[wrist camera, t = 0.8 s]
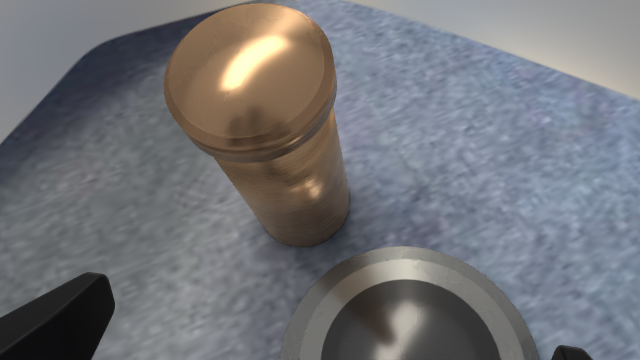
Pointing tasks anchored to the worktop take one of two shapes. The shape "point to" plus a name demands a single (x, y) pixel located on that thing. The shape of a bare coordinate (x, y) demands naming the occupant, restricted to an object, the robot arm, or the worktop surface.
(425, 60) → the worktop surface
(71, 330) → the robot arm
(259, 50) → the copper capped cylinder
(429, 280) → the ring
